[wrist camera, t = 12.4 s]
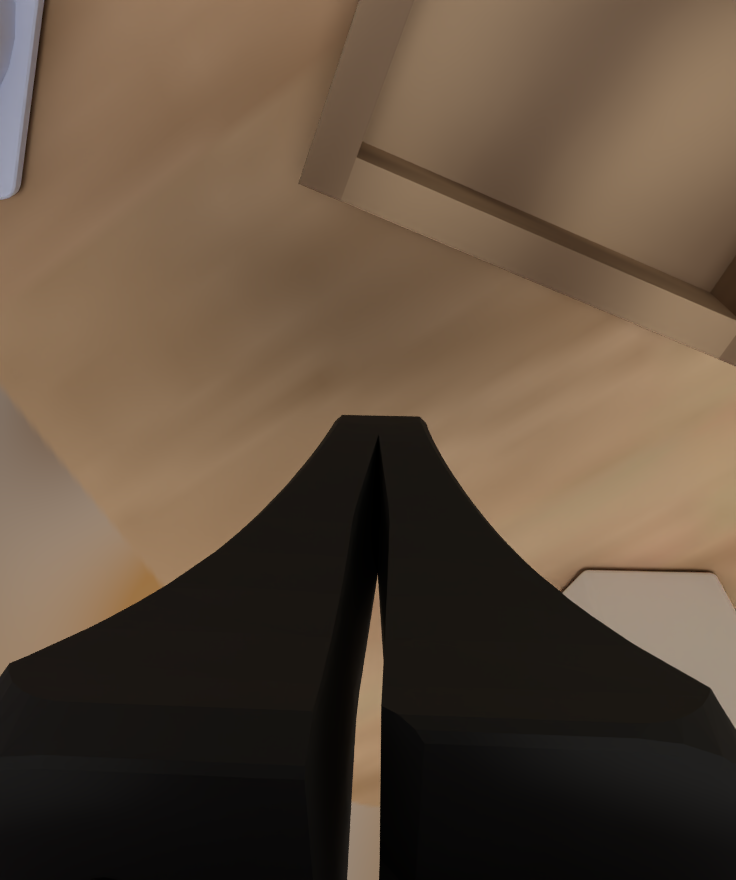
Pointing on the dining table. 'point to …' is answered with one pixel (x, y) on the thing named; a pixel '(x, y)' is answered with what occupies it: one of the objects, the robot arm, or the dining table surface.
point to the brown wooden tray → (552, 146)
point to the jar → (669, 621)
